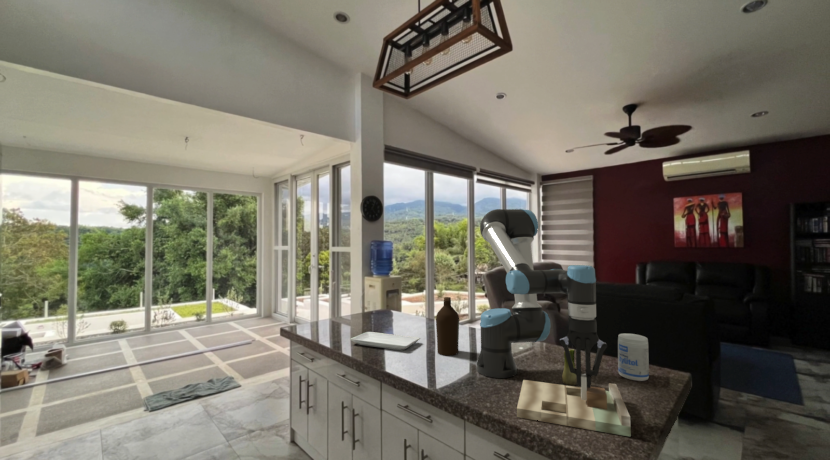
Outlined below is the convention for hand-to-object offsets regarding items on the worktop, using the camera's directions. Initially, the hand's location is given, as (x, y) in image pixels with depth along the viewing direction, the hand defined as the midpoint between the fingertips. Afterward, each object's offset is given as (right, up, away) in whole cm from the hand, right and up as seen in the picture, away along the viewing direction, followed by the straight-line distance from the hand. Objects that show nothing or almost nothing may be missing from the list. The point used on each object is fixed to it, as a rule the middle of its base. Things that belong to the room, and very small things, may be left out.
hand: (583, 397), depth 102 cm
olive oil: (-35, -6, +55) cm, 65 cm away
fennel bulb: (+4, -5, +19) cm, 20 cm away
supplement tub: (+31, -5, +25) cm, 40 cm away
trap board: (-4, -4, +2) cm, 6 cm away
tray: (-65, -8, +69) cm, 95 cm away
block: (+3, -1, -1) cm, 3 cm away
